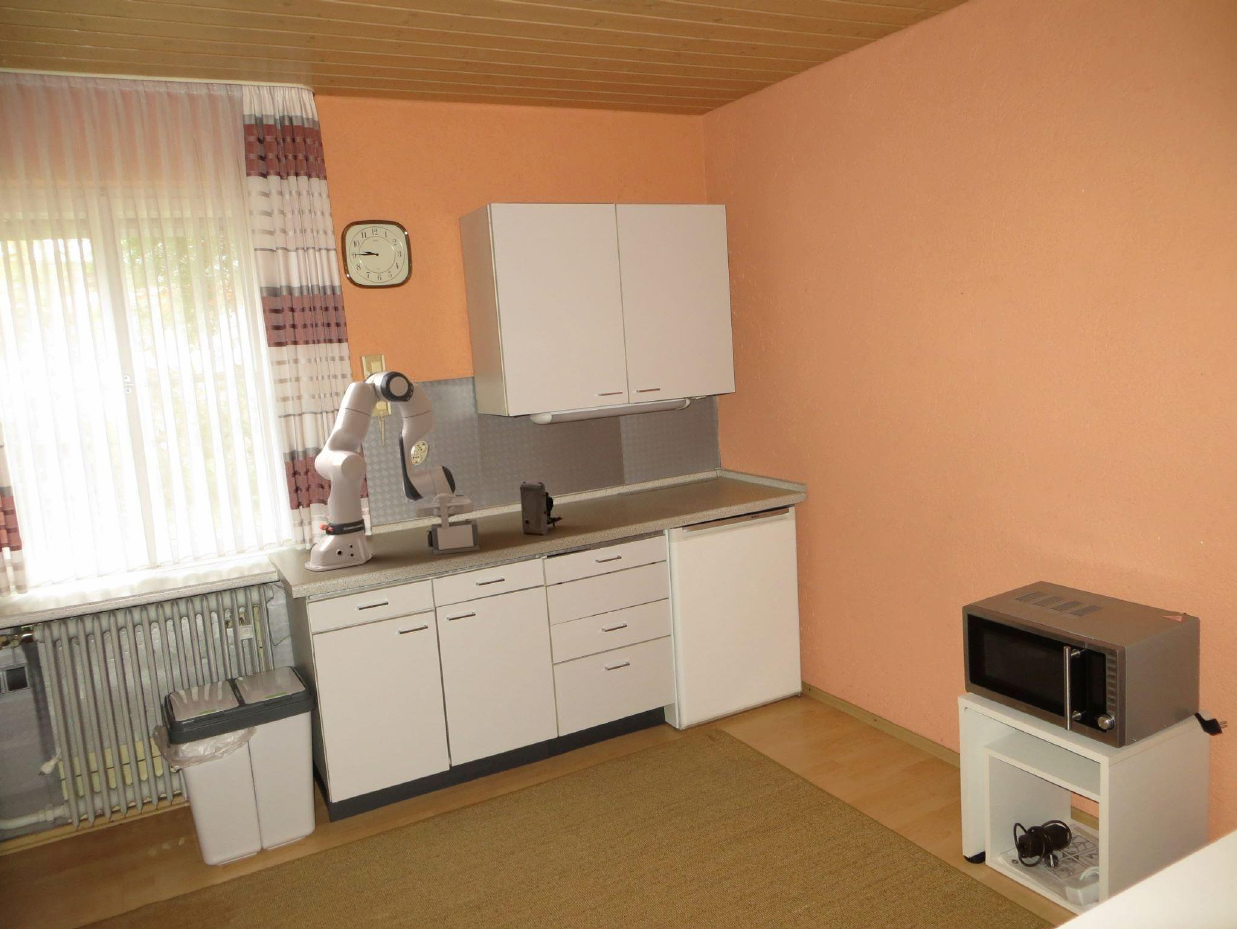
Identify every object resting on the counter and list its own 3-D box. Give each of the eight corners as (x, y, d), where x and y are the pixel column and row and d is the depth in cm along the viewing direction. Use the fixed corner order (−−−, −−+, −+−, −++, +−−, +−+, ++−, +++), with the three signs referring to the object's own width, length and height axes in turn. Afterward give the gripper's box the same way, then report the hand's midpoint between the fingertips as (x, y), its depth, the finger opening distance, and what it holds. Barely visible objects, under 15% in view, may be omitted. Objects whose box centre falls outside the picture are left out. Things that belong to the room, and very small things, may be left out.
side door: (439, 550, 316) (433, 497, 313) (439, 548, 318) (433, 496, 315) (473, 546, 318) (468, 493, 315) (473, 545, 320) (468, 493, 317)
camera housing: (429, 555, 316) (426, 527, 314) (429, 549, 325) (426, 522, 324) (479, 549, 319) (477, 522, 317) (478, 543, 328) (476, 517, 327)
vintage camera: (566, 528, 347) (562, 477, 345) (543, 535, 334) (539, 482, 332) (545, 527, 352) (542, 477, 350) (522, 534, 339) (518, 482, 337)
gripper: (414, 500, 326) (412, 506, 312) (471, 494, 330) (472, 501, 316) (416, 517, 327) (414, 524, 313) (472, 511, 330) (474, 518, 317)
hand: (444, 512), depth 315 cm, fingers closed on side door, 2 cm apart
